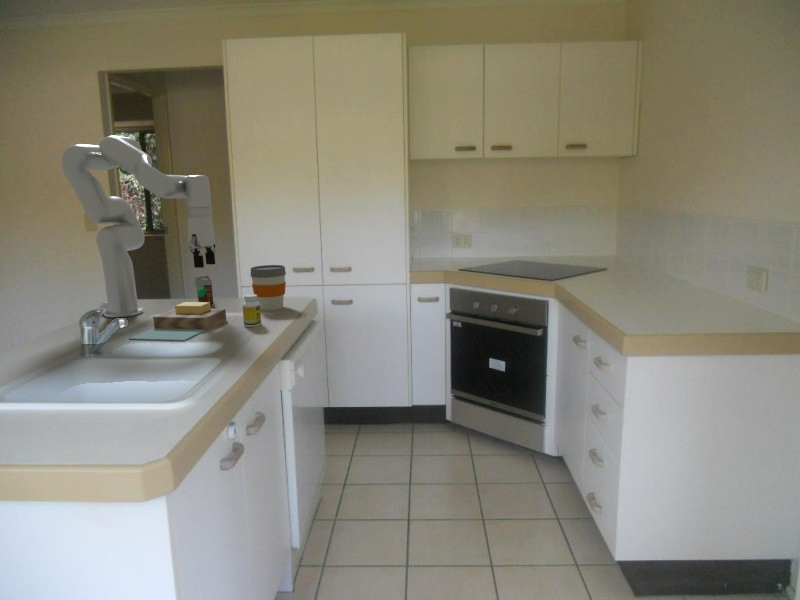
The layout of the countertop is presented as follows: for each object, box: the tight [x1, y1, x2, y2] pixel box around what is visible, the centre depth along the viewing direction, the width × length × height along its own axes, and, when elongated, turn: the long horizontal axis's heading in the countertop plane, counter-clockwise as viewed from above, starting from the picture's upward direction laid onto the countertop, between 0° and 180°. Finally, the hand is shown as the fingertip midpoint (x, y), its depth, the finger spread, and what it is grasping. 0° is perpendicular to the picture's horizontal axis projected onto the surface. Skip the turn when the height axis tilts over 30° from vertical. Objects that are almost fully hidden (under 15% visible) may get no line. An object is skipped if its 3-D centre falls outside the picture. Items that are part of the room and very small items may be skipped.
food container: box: [193, 275, 214, 306], centre depth 217 cm, size 12×6×10 cm, turn 23°
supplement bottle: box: [242, 293, 262, 328], centre depth 180 cm, size 5×5×10 cm
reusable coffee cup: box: [250, 264, 287, 311], centre depth 205 cm, size 13×12×15 cm
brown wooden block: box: [152, 308, 227, 331], centre depth 183 cm, size 18×13×4 cm
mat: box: [128, 327, 207, 342], centre depth 171 cm, size 18×12×1 cm, turn 80°
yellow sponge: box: [174, 301, 212, 314], centre depth 185 cm, size 9×6×2 cm, turn 80°
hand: (205, 265), depth 192 cm, fingers open, 6 cm apart
